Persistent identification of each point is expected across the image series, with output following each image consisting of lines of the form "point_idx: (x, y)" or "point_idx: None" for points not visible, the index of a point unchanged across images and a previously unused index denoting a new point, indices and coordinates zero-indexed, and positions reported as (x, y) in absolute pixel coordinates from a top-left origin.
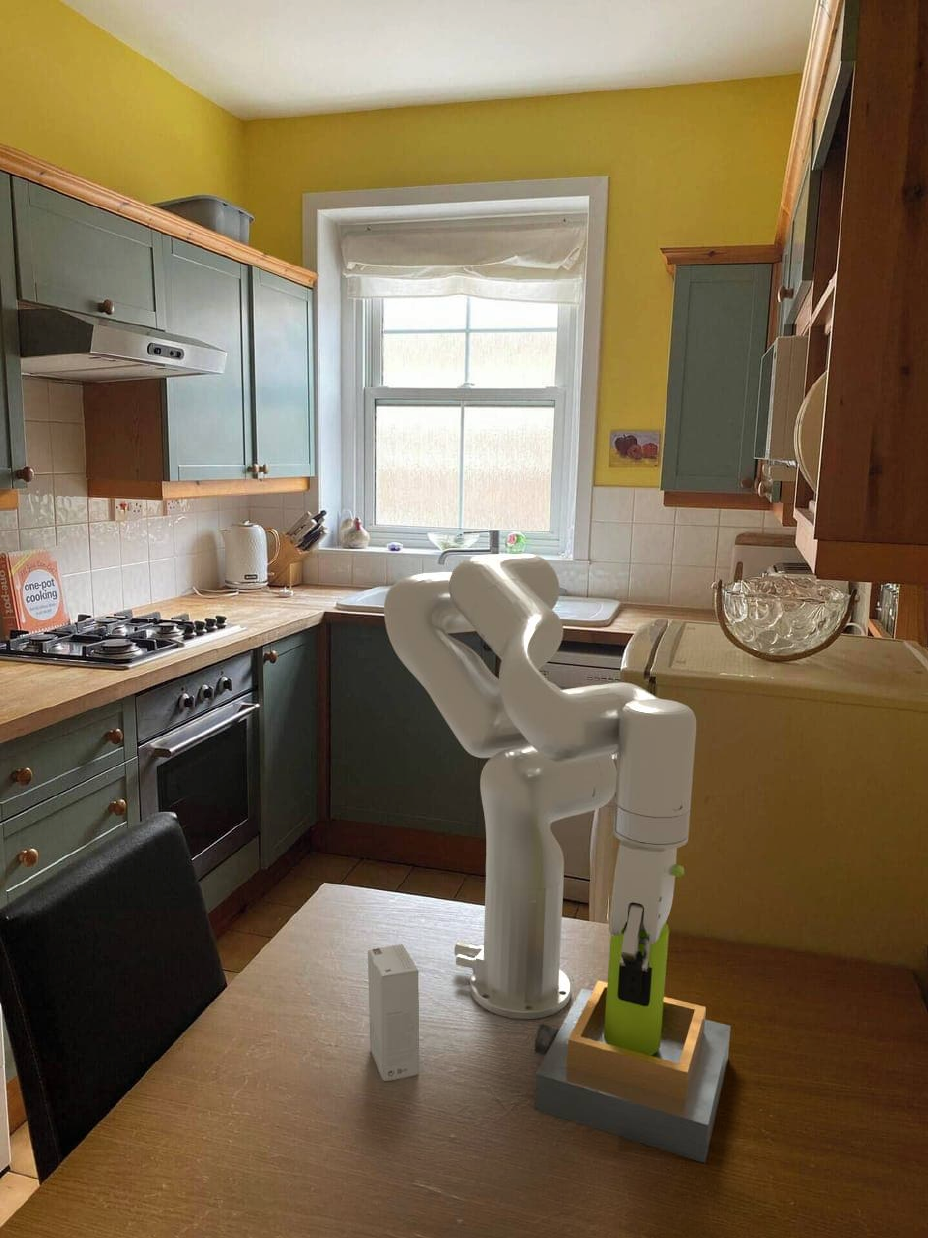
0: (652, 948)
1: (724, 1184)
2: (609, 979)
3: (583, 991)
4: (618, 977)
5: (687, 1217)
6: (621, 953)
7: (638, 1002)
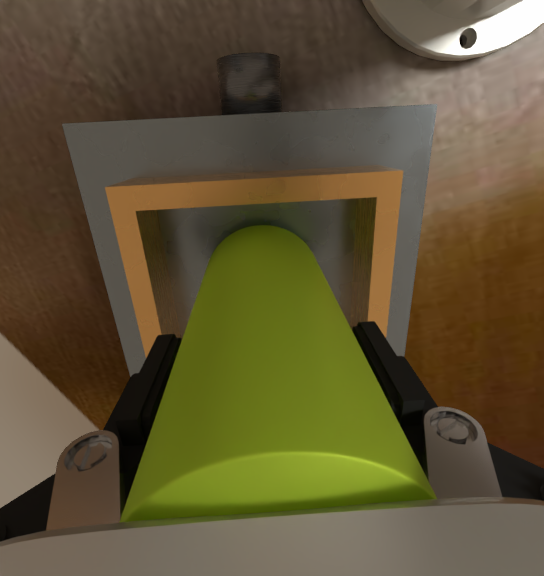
0: None
1: None
2: (212, 300)
3: (424, 113)
4: (177, 353)
5: (61, 375)
6: (55, 491)
7: None
